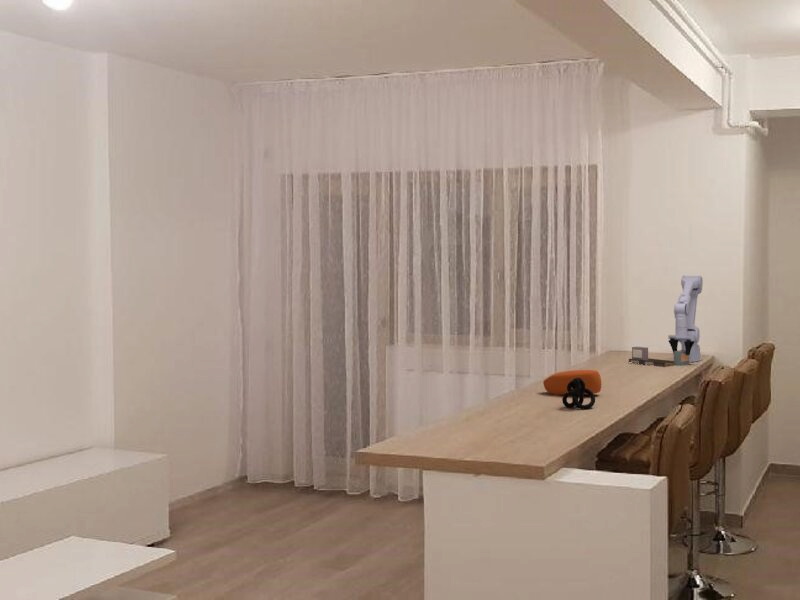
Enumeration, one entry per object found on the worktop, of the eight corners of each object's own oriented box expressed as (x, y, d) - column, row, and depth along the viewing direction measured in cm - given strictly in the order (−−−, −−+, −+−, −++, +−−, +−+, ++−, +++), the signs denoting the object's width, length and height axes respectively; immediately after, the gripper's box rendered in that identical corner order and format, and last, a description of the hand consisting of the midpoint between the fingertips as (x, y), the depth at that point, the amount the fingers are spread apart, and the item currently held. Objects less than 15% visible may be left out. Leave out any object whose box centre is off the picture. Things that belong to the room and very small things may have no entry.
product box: (673, 365, 539) (673, 351, 539) (682, 363, 543) (682, 350, 543) (680, 366, 536) (680, 352, 535) (689, 364, 540) (689, 350, 540)
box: (637, 360, 553) (637, 346, 553) (648, 361, 548) (648, 347, 547) (631, 360, 551) (631, 347, 550) (642, 362, 545) (642, 348, 545)
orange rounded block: (540, 399, 456) (597, 396, 444) (537, 374, 455) (594, 370, 443) (550, 395, 466) (606, 392, 454) (547, 370, 466) (603, 367, 454)
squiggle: (579, 422, 422) (580, 397, 434) (597, 408, 416) (599, 383, 428) (557, 405, 419) (559, 381, 431) (575, 391, 413) (578, 367, 425)
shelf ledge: (638, 361, 555) (638, 357, 555) (674, 365, 538) (674, 361, 537) (628, 363, 550) (628, 358, 550) (663, 367, 533) (663, 362, 532)
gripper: (664, 327, 542) (664, 354, 542) (688, 328, 530) (688, 356, 531) (673, 326, 546) (673, 352, 547) (697, 327, 535) (697, 355, 535)
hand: (681, 354), depth 539 cm, fingers open, 7 cm apart
